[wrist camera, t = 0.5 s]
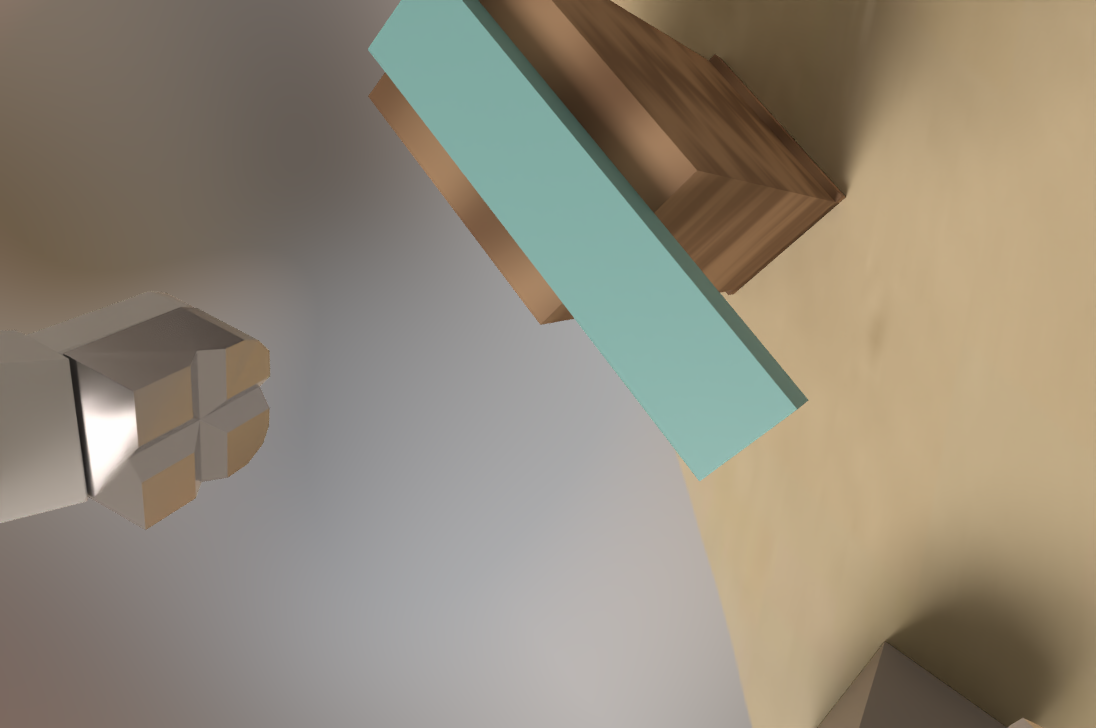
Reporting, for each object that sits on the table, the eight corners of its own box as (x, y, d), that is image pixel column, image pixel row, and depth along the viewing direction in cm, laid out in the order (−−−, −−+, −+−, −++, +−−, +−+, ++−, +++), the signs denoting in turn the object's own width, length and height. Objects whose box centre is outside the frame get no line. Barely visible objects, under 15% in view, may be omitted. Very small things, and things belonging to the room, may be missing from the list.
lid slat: (808, 400, 25) (797, 409, 24) (714, 469, 27) (699, 481, 26) (455, -27, 30) (428, -41, 28) (395, 57, 31) (367, 49, 30)
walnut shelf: (845, 197, 48) (708, 159, 26) (733, 293, 52) (532, 333, 30) (720, 58, 51) (497, -86, 28) (623, 160, 55) (361, 105, 33)
